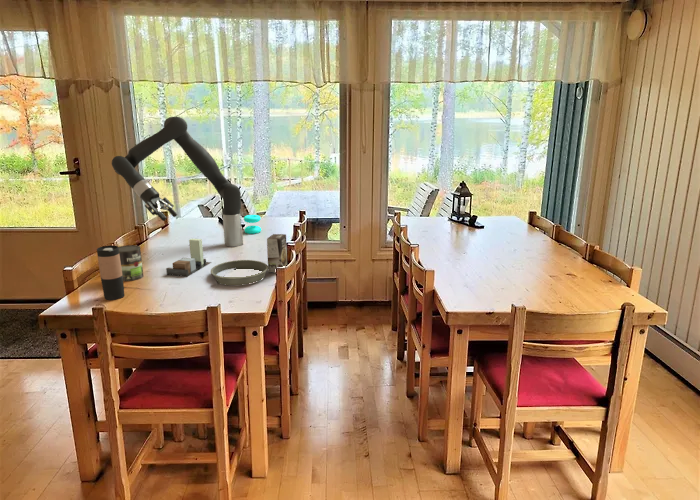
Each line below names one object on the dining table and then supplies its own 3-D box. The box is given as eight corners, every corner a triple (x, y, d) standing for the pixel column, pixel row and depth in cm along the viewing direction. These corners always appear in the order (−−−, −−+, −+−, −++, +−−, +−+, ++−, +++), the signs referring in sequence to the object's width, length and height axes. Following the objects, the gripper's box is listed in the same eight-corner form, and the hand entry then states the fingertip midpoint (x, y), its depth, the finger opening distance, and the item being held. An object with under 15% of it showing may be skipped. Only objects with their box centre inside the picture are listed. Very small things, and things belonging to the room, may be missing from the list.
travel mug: (108, 293, 191) (101, 245, 185) (128, 293, 191) (121, 245, 186) (100, 300, 183) (92, 251, 178) (121, 300, 184) (114, 250, 178)
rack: (192, 262, 229) (192, 254, 228) (211, 264, 227) (211, 256, 226) (167, 277, 209) (166, 268, 208) (187, 278, 207) (186, 270, 206)
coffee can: (149, 278, 208) (145, 247, 204) (127, 285, 200) (123, 253, 196) (134, 274, 213) (130, 243, 209) (113, 280, 205) (108, 249, 201)
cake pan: (208, 272, 217) (208, 262, 215) (262, 266, 225) (262, 257, 224) (214, 290, 195) (213, 280, 193) (273, 283, 203) (273, 273, 202)
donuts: (245, 214, 289) (262, 214, 288) (246, 230, 291) (262, 230, 291) (241, 217, 279) (258, 217, 279) (242, 234, 282) (259, 234, 282)
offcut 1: (178, 271, 214) (177, 260, 213) (190, 272, 213) (189, 261, 212) (173, 273, 211) (172, 263, 209) (185, 275, 209) (184, 264, 208)
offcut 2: (184, 267, 219) (183, 257, 217) (196, 268, 217) (195, 258, 216) (179, 270, 215) (178, 260, 213) (191, 271, 213) (190, 261, 212)
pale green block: (194, 262, 226) (192, 238, 222) (203, 263, 225) (201, 239, 221) (191, 264, 223) (189, 239, 220) (201, 265, 222) (198, 240, 219)
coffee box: (281, 273, 214) (279, 239, 210) (267, 272, 216) (266, 238, 211) (287, 267, 223) (286, 234, 218) (274, 266, 224) (273, 233, 220)
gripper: (140, 188, 212) (166, 215, 212) (160, 184, 225) (183, 209, 226) (131, 200, 214) (156, 226, 215) (151, 194, 228) (174, 219, 228)
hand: (170, 217), depth 220 cm, fingers open, 8 cm apart
